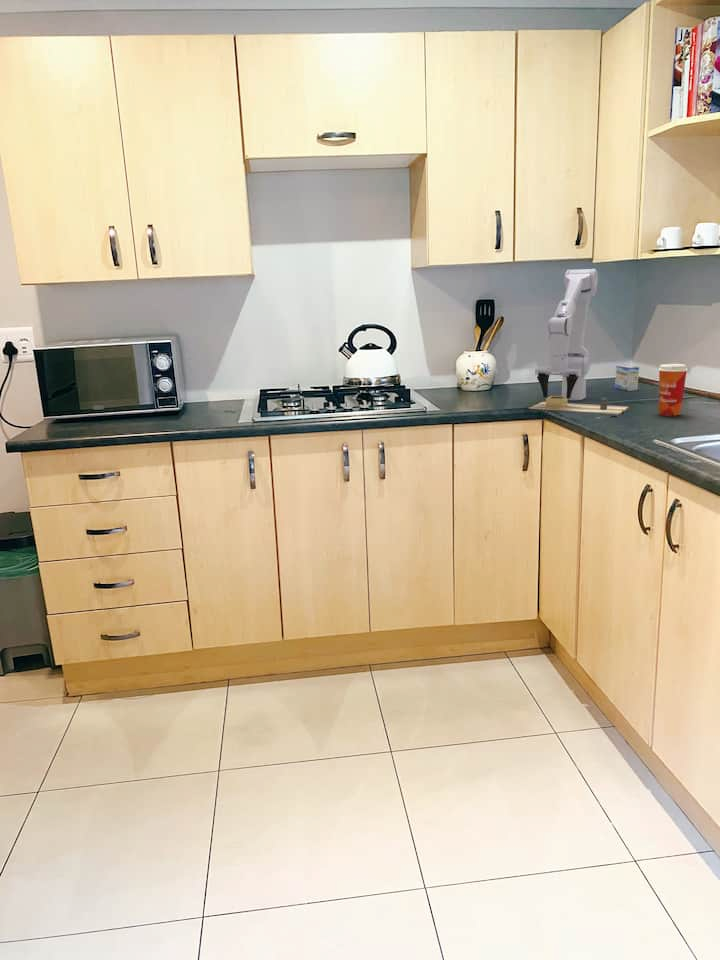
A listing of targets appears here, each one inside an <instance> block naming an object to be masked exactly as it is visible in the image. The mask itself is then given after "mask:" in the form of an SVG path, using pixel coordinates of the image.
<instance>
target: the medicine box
mask: <svg viewBox="0 0 720 960" xmlns="http://www.w3.org/2000/svg"><path fill="white" fill-rule="evenodd" d="M615 368H616V369H615V379H614V381H615V383H614V389H616V390H622V391H626V392H630V391H631V392H633V391H634V392H635V391H637V390H638V388H639V387H638V386H639V385H638V384H639V373H640V372H639V371H640V367H638V366H631V365H626V364H625V365H623V364H620V365H616V367H615Z"/></svg>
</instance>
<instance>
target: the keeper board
mask: <svg viewBox="0 0 720 960" xmlns="http://www.w3.org/2000/svg"><path fill="white" fill-rule="evenodd" d="M529 409H533V410H534V409H535V410H546V411H547V410H550V411H565V412H578V413H579V412H580V413H595V414H597V413H598V414H611V415H617V416H618V415H619V414H621V413H622V412H624V411H626V410H627V409H628V410H629V406H623V405H621V406H620V405H608V399H607V398H606V397H602V398H601V399H600V403H599V404H589V403H588V404H587V403H574V402H573V403H571V402H570V403H569V402H568V405H567V406H565V407H563V408H555V407H546V401H541V402H539V403H537V404H534V405H532V406H529ZM628 410H627V411H628ZM627 411H626V412H627ZM624 413H625V412H624ZM621 415H622V414H621ZM618 417H619V416H618Z"/></svg>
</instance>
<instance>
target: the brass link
mask: <svg viewBox="0 0 720 960" xmlns="http://www.w3.org/2000/svg"><path fill="white" fill-rule="evenodd" d="M568 401H569V400H568V399H567V397H562V395H561V396H559V395H550V396H549V397H548V396H547V397H545V402H546V407H555V408H563V407H565V406H567V405H568V403H569V402H568Z"/></svg>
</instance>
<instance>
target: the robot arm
mask: <svg viewBox="0 0 720 960" xmlns="http://www.w3.org/2000/svg"><path fill="white" fill-rule="evenodd" d="M563 281H564V282H563V283H564V287H565V289H566V290H565V294H564V299H562V300H560V302H559V303H558V305H557V308H556V310H555V313H554V315H553V317H551V318H550V319H548V323H547V335H548V342H549V354H548V355H549V356H548V357H549V358H548V367H536V368H534V375H537V376H536V379H537V380H538V383H539V385H540V388H541V391H542V397H543V398H548V393H549V391H548V390H549V389H548V388H549V381H550V380H549V379H550V376H561V377H562V378H561V379H562V380H561V381H562V382H561V396H562V397H567V399H568V401H581V400H584V399H586V393H587V392H586V391H587V389H586V388H587V380H586V378H585V376H586V375H587V374H588V373H589V372H590V369H591V354H590V352H589V350H588V349H587V348H586V347H584V344H585V336H586V335H585V334H586V330H587V329H586V327H587V323H588V322H587V321H588V313H589V308H590V302H591V298H593V297H595V296H596V293H597V289H598V283H599V274H598V271H597V269H596V268H586V269H583V268H582V269H567V270H566V271H565V273H564V280H563Z"/></svg>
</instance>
